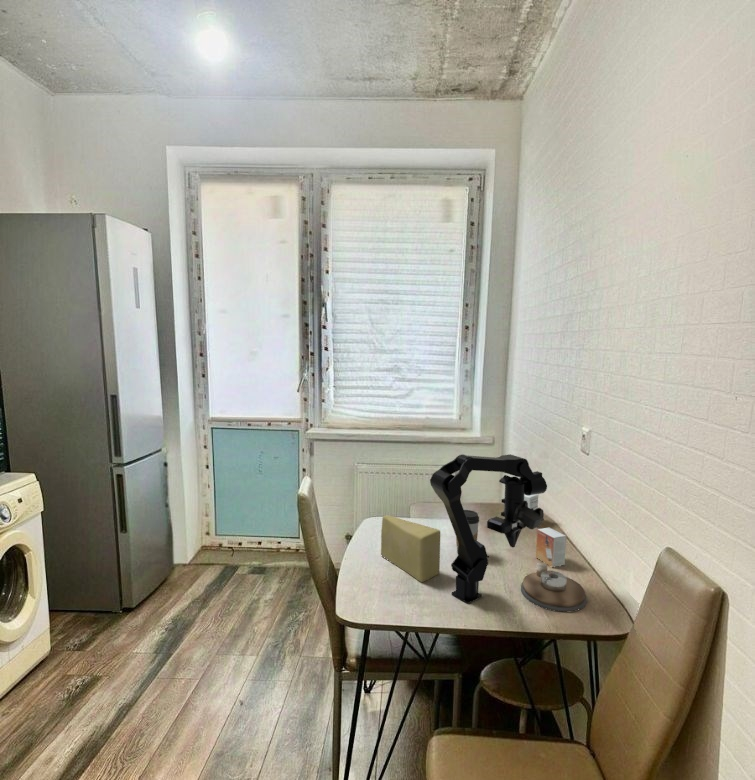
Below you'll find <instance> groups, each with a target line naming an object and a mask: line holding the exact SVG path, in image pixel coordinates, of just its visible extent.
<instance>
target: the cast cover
mask: <svg viewBox="0 0 755 780" xmlns="http://www.w3.org/2000/svg"><path fill="white" fill-rule="evenodd" d="M566 577H567V576H565V575H564V574H563V573H561V572H558V571H556V570H547V571H543V572H542V573H541V586H542V587H543V588H544V589H546V590H548V591H551V592H564V591H565V590H566V580H567V578H566Z"/></svg>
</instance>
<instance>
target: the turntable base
mask: <svg viewBox="0 0 755 780" xmlns="http://www.w3.org/2000/svg"><path fill="white" fill-rule="evenodd" d="M520 591H521V592H520V593H521V595H523V597H524V598H525V599H526V600H527V601H528V602H530V603H532V604H533V603H534V605H535V606H537V605H538V606H537V607H539V606H540V608H542V607H543V608H542V609H545V608H547V609H546V610H548V609H551V610H550V611H552V610H555V611H554V612H558V611H563V612H562V613H568V612H567V611H574V612H576V611H575V610H578V609H581V608H582V609H584V608H585V607H584V606H587V595H586V594H585V599H584V601H583V603H581V604H580V605H578V606H574V607H556V606H551V605H547V604H544V603H541V602H539V601H537V600H535V599H533V598H532V597H530V596H529V595H528V594H527V593H526V592H525V591H524V589H523V581H522V582H521V583H520ZM583 607H584V608H583ZM582 609H581V610H582ZM578 611H579V610H578Z"/></svg>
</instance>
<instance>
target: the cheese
mask: <svg viewBox="0 0 755 780" xmlns="http://www.w3.org/2000/svg"><path fill="white" fill-rule="evenodd" d="M380 531H381V532H380V533H381V534H380V536H381V537H380V540H381V543H380V556H381V555H382V556H383V557H385V558H386V559H388V560H389V561H388V560H387V561H388V562H390V561H391V562H392V564H393V563H394V564H393V565H395V566H396V565H397V566H396V567H398V568H399V567H400V569H402V570H403V571H405V572H406V573H408V574H409V575H410V576H412V577H413V578H414V579H416V580H417V581H419V582H420V583H424V582H426V581H428V580H430V579H431V578H434V577H436V576H437V575H438V574H439V573H440V565H441V563H440V562H441V530H440V529H437V528H434V527H430V526H427V525H425V524H424V525H423V524H420V523H418V522H413V521H409V520H406V519H403V518H399V517H396V516H393V515H389V514H386V515H384V516H382V521H381V529H380ZM382 556H381V557H382ZM383 557H382V558H383ZM385 558H384V559H385ZM386 559H385V560H386ZM391 562H390V563H391Z"/></svg>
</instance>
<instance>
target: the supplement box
mask: <svg viewBox="0 0 755 780" xmlns="http://www.w3.org/2000/svg"><path fill="white" fill-rule="evenodd" d="M524 500H525V501H527V503H528V508H530V509H534V510H535V509H537V508H539V494H535V495H525V494H524Z"/></svg>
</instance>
